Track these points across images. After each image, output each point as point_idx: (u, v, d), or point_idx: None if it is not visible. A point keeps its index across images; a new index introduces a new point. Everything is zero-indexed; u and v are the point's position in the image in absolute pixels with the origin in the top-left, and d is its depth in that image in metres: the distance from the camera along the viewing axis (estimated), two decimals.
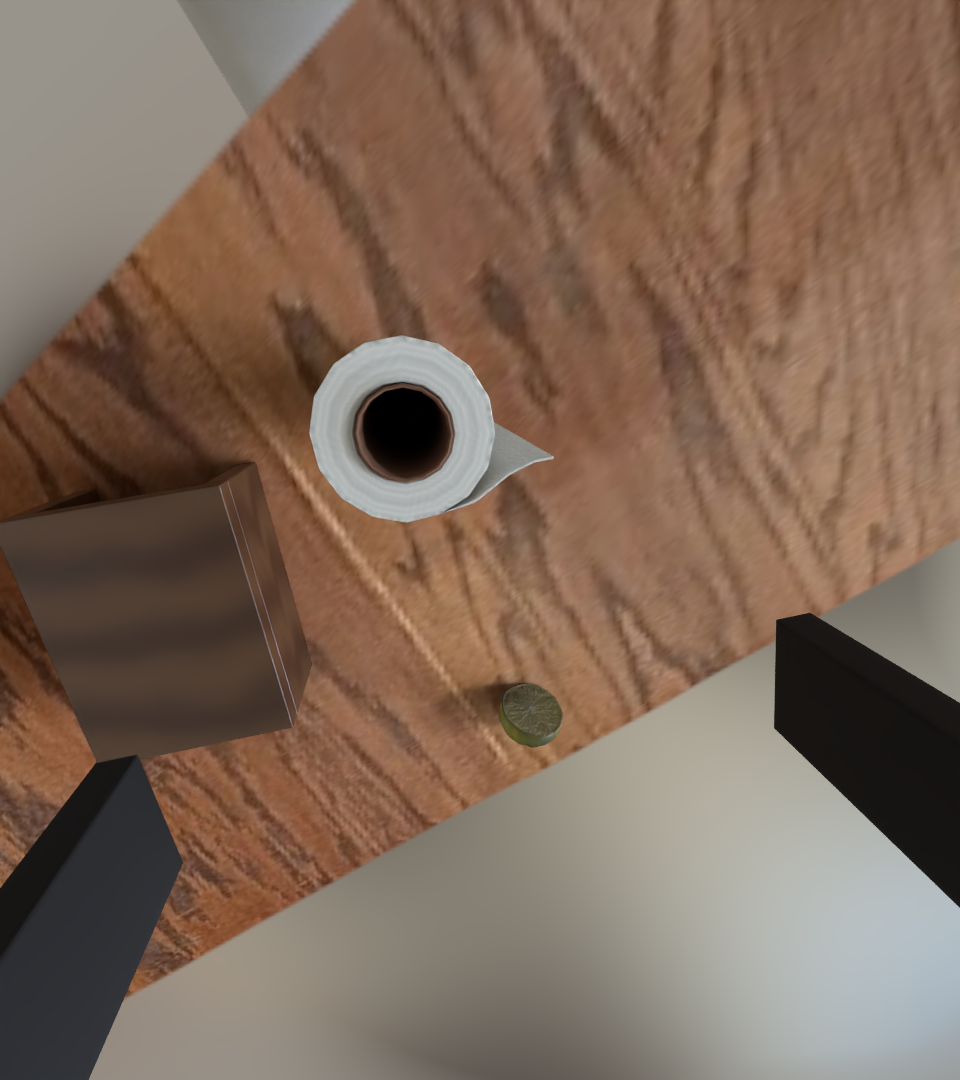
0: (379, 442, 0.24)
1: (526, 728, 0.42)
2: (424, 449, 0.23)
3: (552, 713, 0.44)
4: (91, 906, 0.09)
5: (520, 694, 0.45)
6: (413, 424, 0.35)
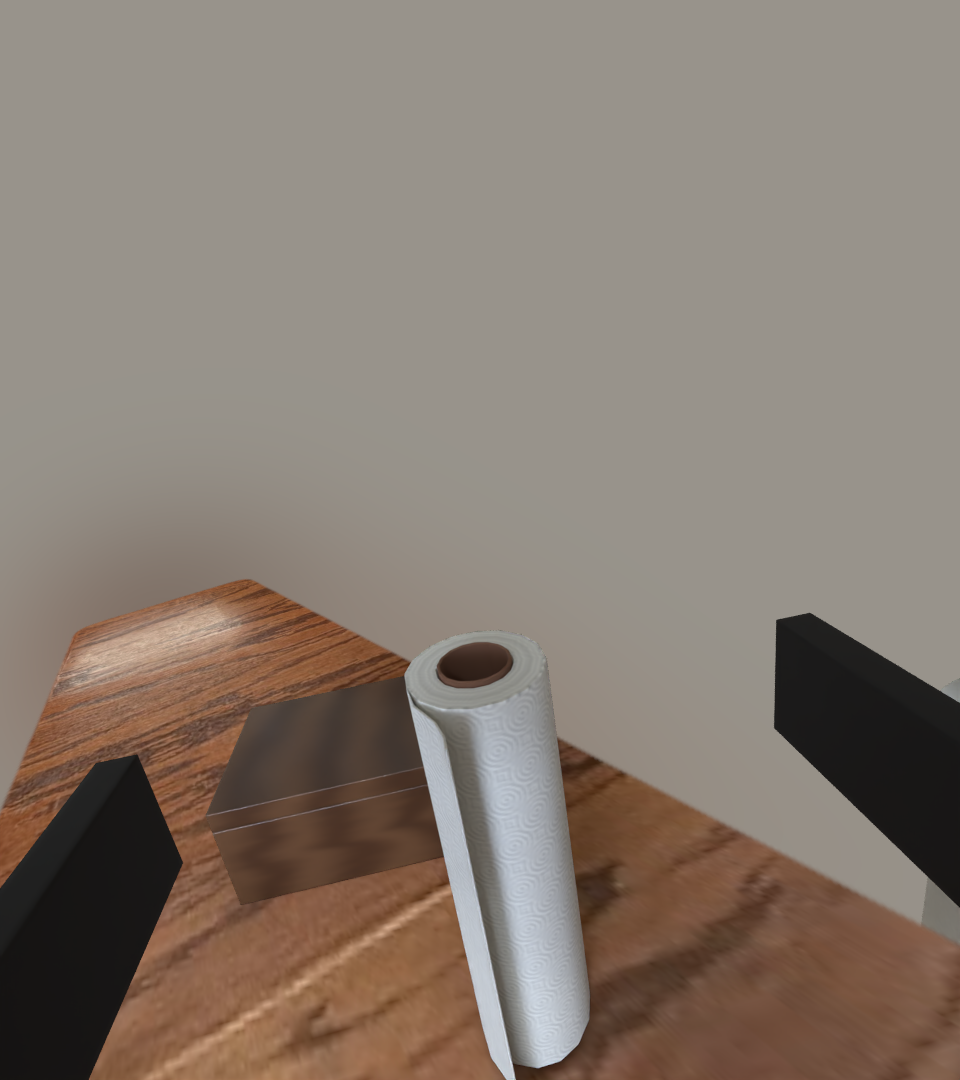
0: None
1: None
2: None
3: None
4: (91, 906, 0.09)
5: None
6: None
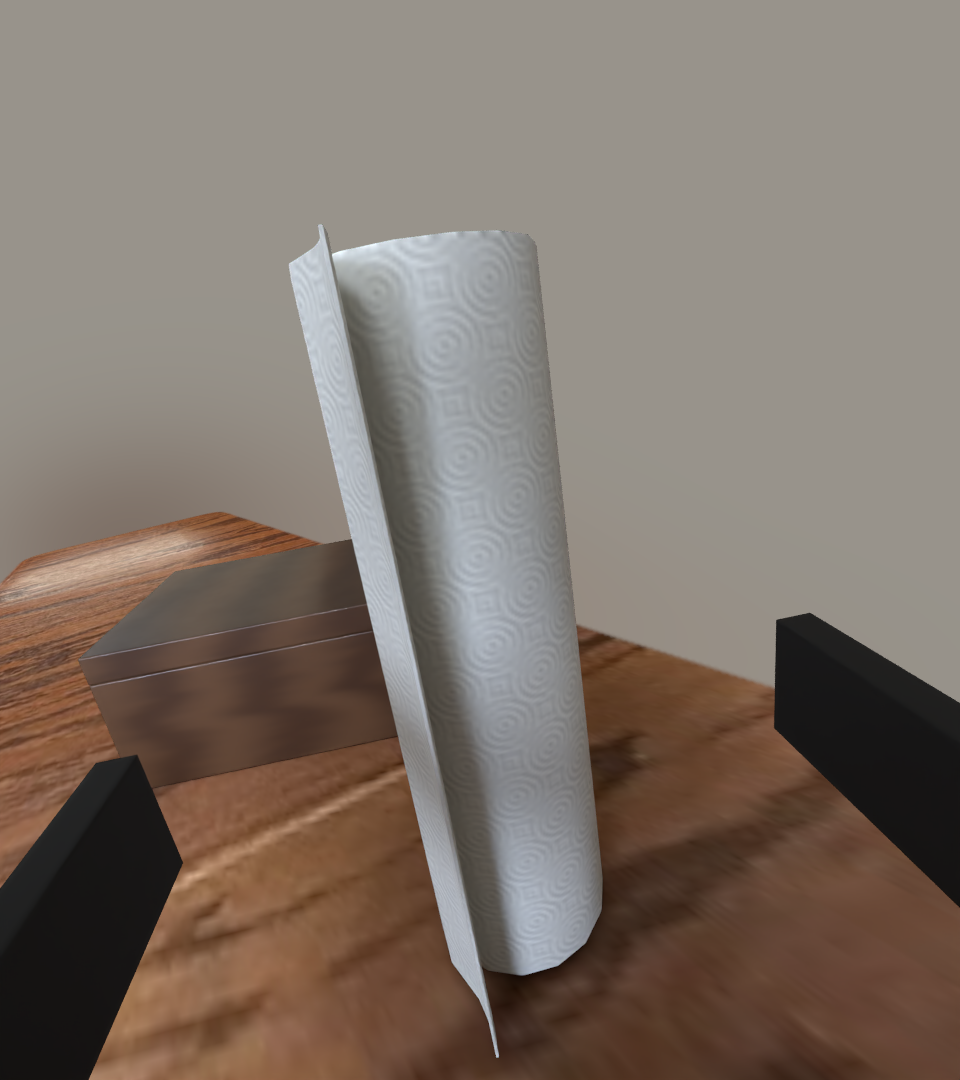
0: None
1: None
2: None
3: None
4: (91, 906, 0.09)
5: None
6: None
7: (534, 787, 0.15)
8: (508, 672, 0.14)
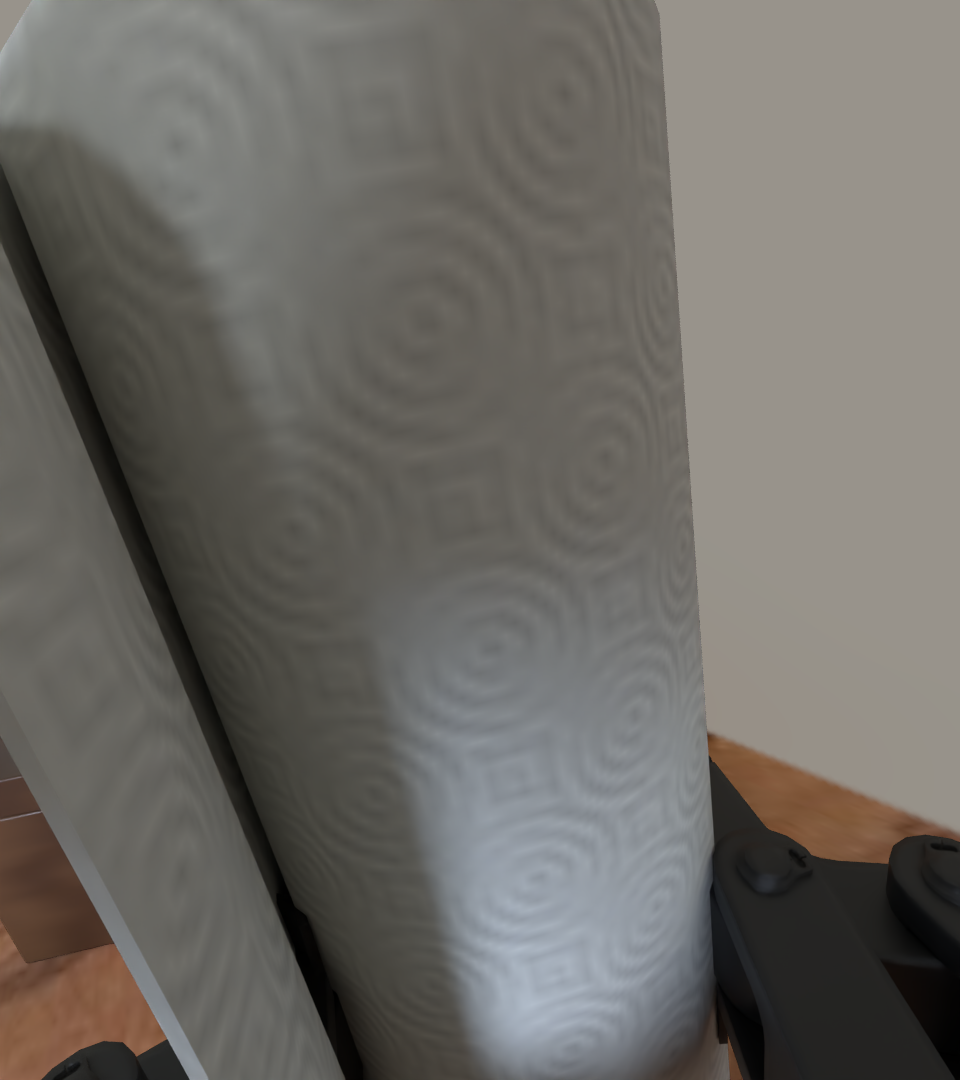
0: None
1: None
2: None
3: None
4: None
5: None
6: None
7: None
8: None
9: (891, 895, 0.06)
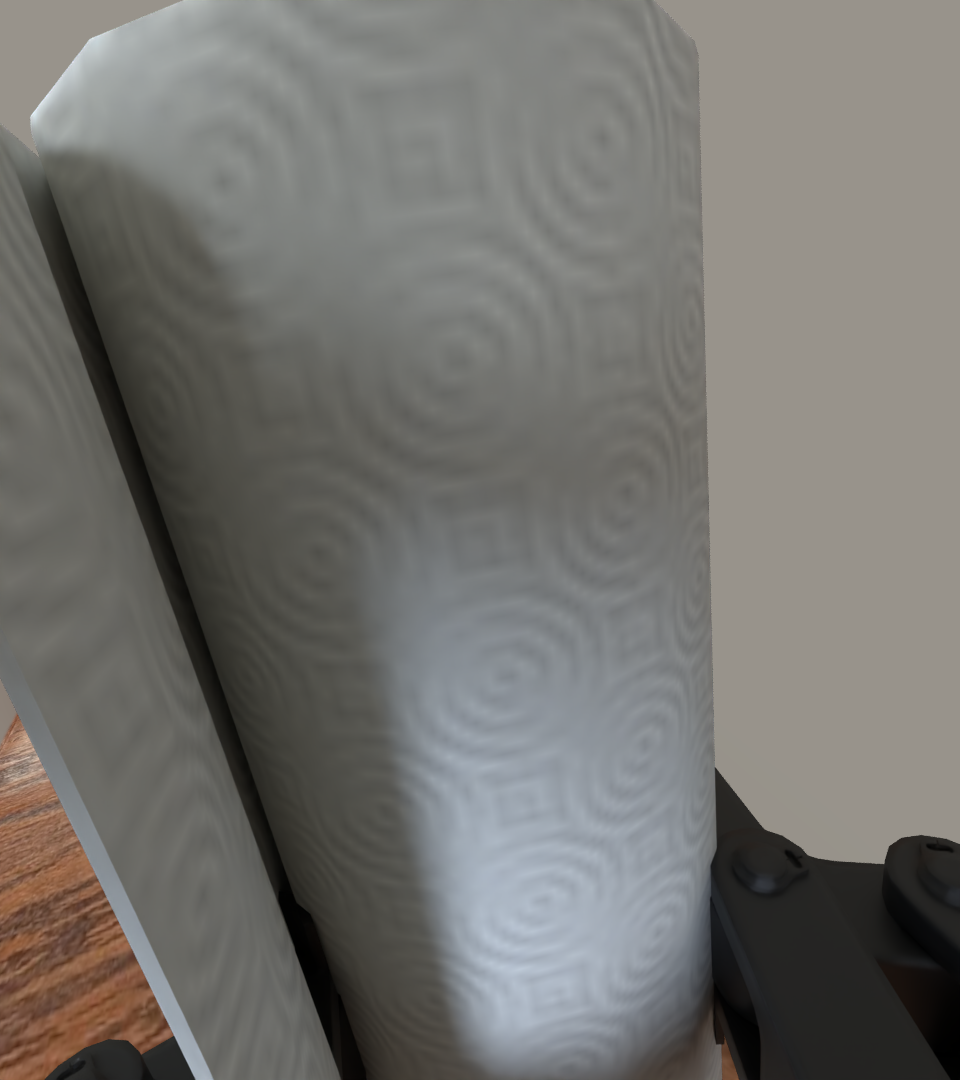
0: None
1: None
2: None
3: None
4: None
5: None
6: None
7: None
8: None
9: (888, 895, 0.06)
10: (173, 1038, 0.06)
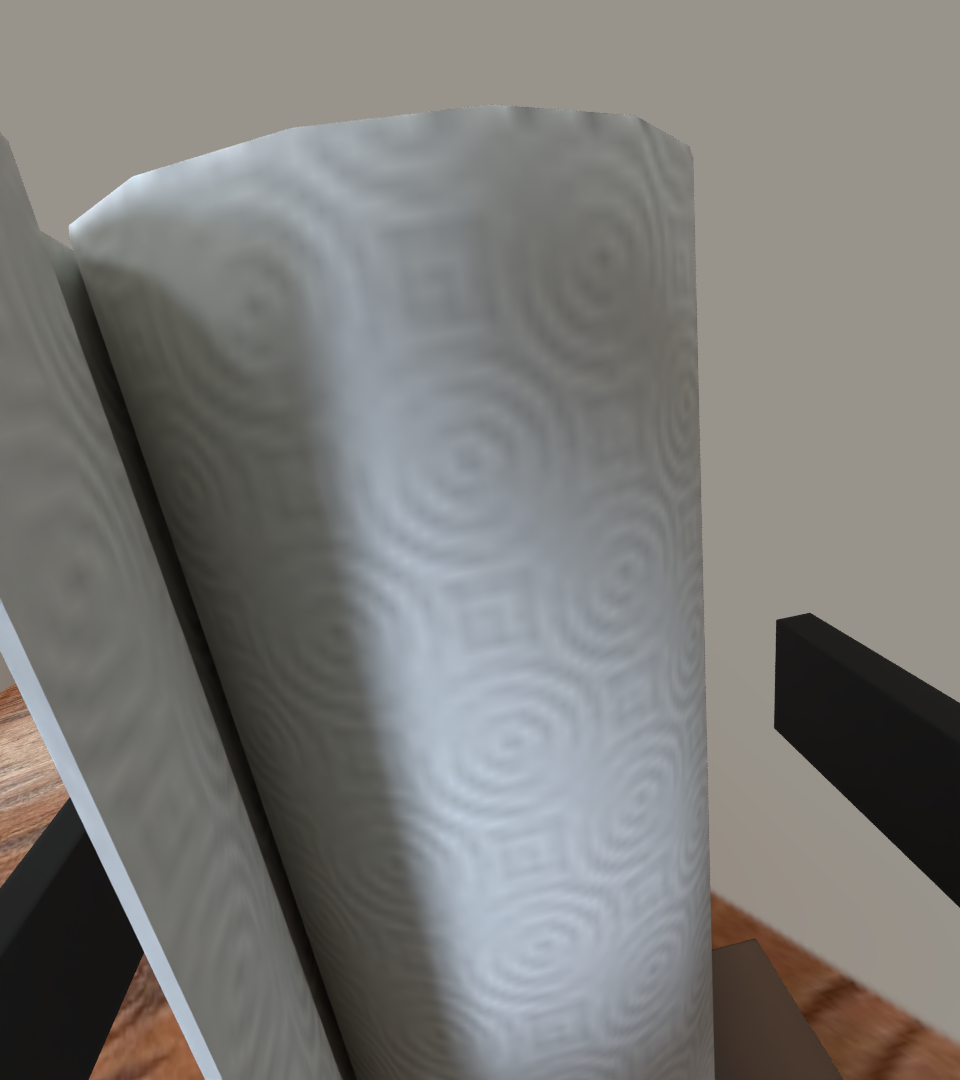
0: None
1: None
2: None
3: None
4: (91, 906, 0.09)
5: None
6: None
7: None
8: None
9: None
10: None
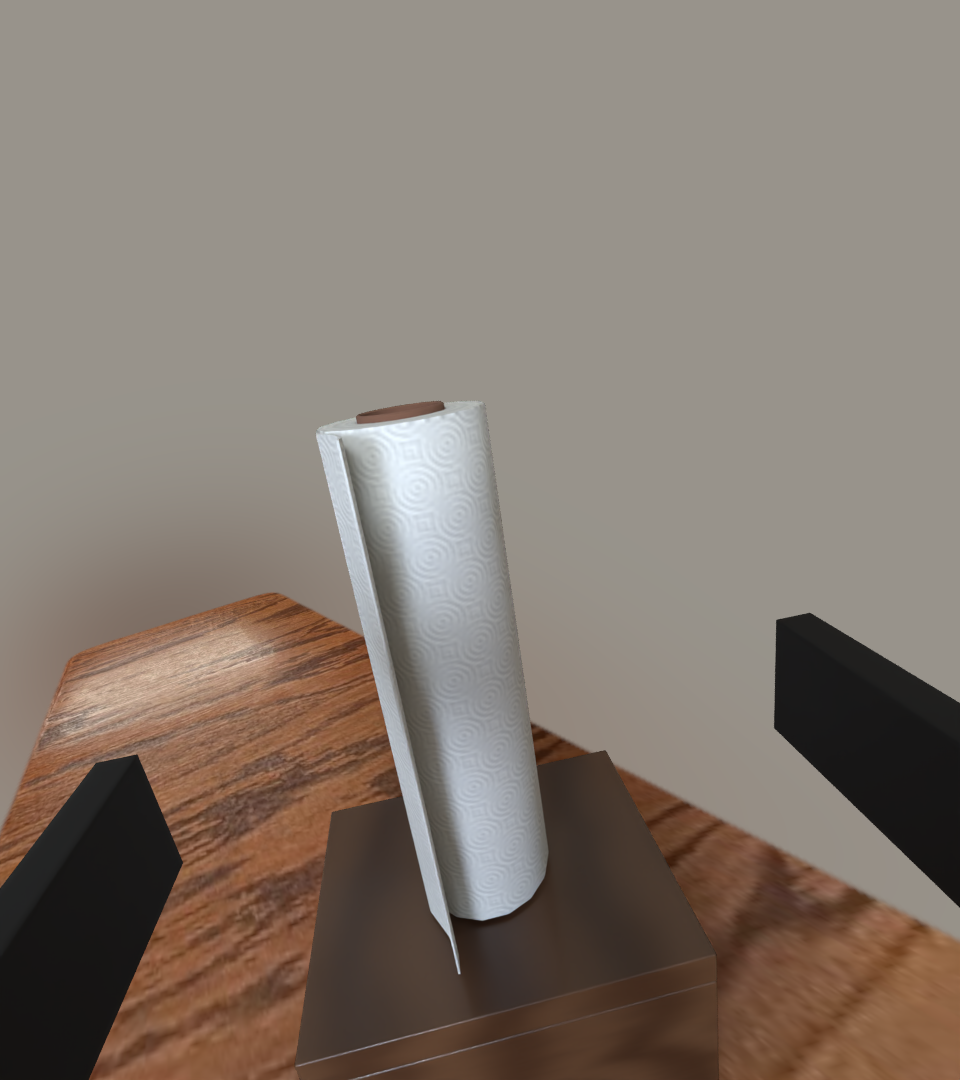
0: None
1: None
2: None
3: None
4: (91, 906, 0.09)
5: None
6: None
7: (486, 780, 0.21)
8: (465, 699, 0.20)
9: None
10: None
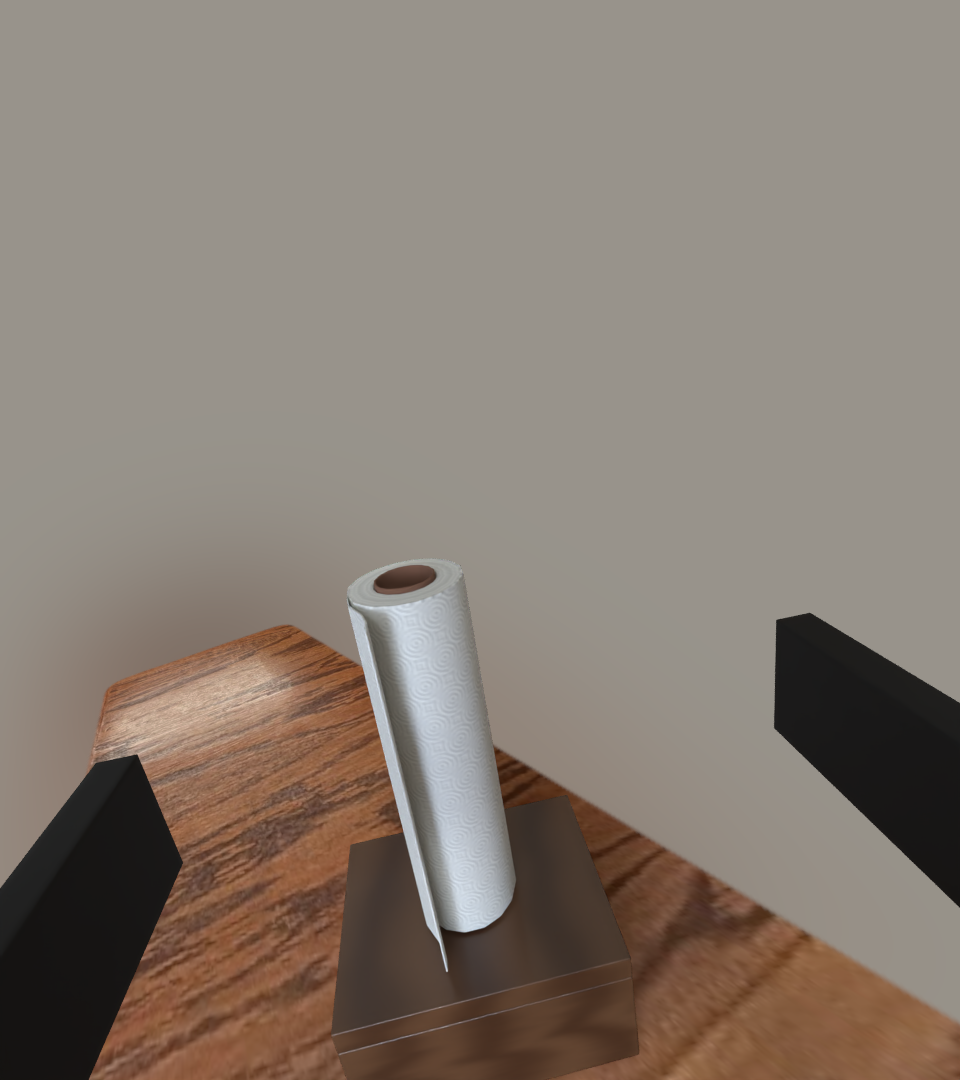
0: None
1: None
2: None
3: None
4: (91, 906, 0.09)
5: None
6: None
7: (466, 833, 0.30)
8: (450, 778, 0.29)
9: None
10: None
